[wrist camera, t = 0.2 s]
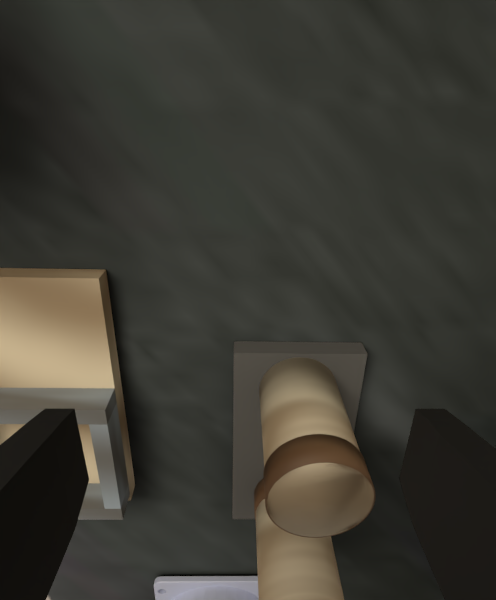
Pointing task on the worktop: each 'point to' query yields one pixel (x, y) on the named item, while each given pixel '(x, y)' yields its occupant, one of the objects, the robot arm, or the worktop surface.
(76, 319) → the socket board
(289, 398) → the sleeve band up
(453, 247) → the worktop surface
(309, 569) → the sleeve band down
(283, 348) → the pad
